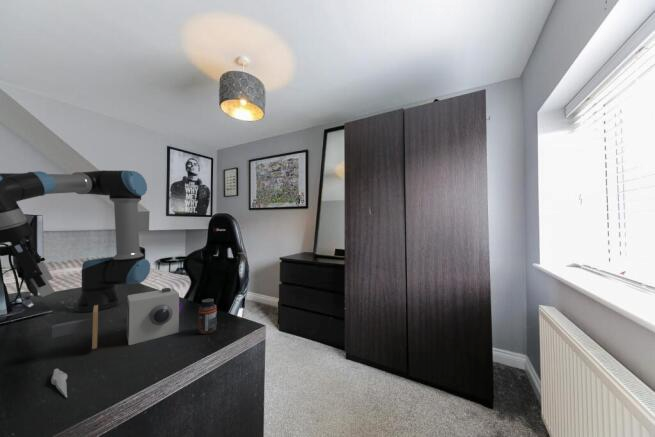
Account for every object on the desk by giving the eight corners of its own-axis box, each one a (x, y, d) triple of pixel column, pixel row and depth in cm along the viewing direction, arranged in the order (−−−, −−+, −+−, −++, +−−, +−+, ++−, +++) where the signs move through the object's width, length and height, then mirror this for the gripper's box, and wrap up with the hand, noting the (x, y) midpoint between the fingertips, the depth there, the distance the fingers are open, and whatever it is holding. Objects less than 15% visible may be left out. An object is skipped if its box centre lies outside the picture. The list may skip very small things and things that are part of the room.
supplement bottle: (195, 331, 88) (196, 300, 89) (212, 326, 93) (212, 296, 93) (201, 336, 84) (202, 303, 85) (219, 330, 89) (219, 299, 89)
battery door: (54, 348, 73) (55, 311, 74) (97, 338, 80) (98, 304, 80) (49, 359, 67) (50, 319, 68) (96, 347, 74) (97, 311, 74)
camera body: (126, 335, 85) (126, 292, 86) (173, 324, 95) (173, 285, 95) (128, 348, 76) (129, 300, 77) (180, 334, 86) (180, 291, 86)
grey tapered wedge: (47, 377, 62) (48, 369, 62) (63, 372, 64) (63, 364, 64) (57, 405, 53) (58, 396, 53) (74, 398, 56) (75, 389, 56)
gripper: (-7, 224, 75) (31, 281, 83) (-20, 239, 59) (29, 308, 67) (29, 215, 80) (62, 270, 88) (26, 228, 64) (67, 293, 72)
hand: (48, 287), depth 77 cm, fingers open, 13 cm apart
